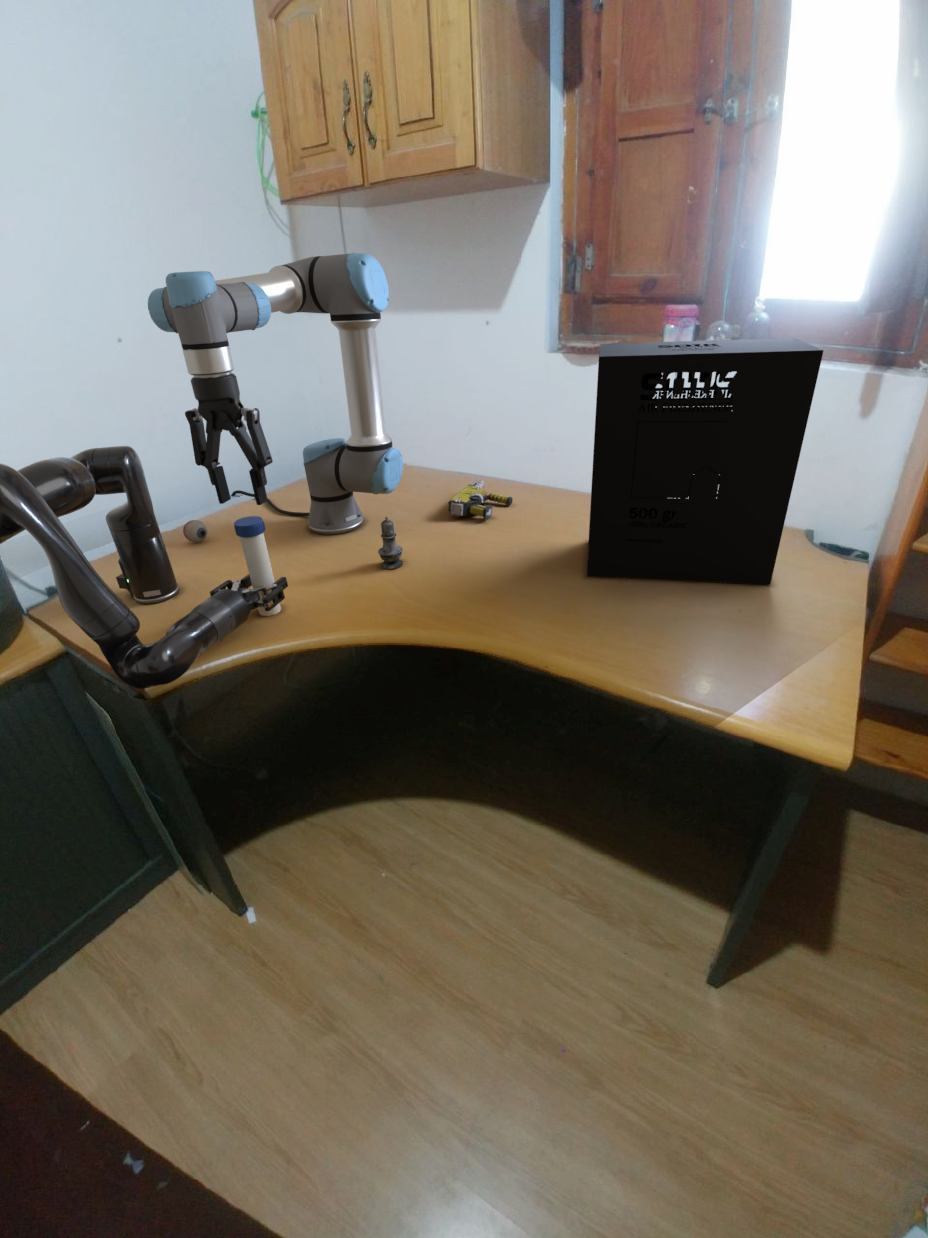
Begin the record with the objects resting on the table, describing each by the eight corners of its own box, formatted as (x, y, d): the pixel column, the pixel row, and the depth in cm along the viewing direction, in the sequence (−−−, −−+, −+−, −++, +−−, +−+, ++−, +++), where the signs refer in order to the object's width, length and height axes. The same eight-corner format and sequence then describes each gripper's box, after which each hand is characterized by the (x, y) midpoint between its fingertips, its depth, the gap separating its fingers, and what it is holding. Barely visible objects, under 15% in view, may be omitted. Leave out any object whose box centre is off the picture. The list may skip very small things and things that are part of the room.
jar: (285, 609, 128) (265, 521, 118) (267, 618, 125) (245, 529, 115) (272, 603, 130) (252, 517, 120) (254, 612, 127) (232, 524, 117)
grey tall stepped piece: (400, 569, 141) (394, 521, 135) (376, 568, 143) (369, 520, 137) (407, 559, 146) (402, 512, 140) (384, 558, 147) (378, 511, 141)
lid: (271, 530, 119) (268, 519, 118) (246, 539, 115) (243, 528, 114) (255, 525, 122) (252, 514, 121) (230, 533, 118) (227, 522, 117)
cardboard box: (751, 546, 143) (793, 337, 120) (770, 584, 126) (823, 350, 103) (589, 540, 150) (600, 343, 128) (586, 576, 133) (598, 356, 111)
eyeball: (196, 547, 160) (190, 526, 157) (181, 543, 163) (175, 522, 160) (215, 539, 164) (209, 518, 161) (200, 536, 167) (194, 515, 164)
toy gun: (520, 484, 182) (474, 477, 186) (498, 508, 162) (446, 499, 166) (519, 500, 184) (473, 492, 188) (497, 524, 164) (445, 516, 168)
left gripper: (244, 603, 108) (295, 565, 122) (181, 595, 113) (237, 559, 126) (254, 639, 112) (302, 598, 126) (192, 629, 117) (245, 591, 130)
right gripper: (276, 369, 105) (300, 497, 116) (176, 372, 109) (209, 494, 121) (253, 376, 98) (281, 510, 110) (148, 378, 103) (185, 506, 115)
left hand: (269, 578), depth 126 cm, fingers open, 7 cm apart
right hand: (243, 501), depth 115 cm, fingers open, 7 cm apart
